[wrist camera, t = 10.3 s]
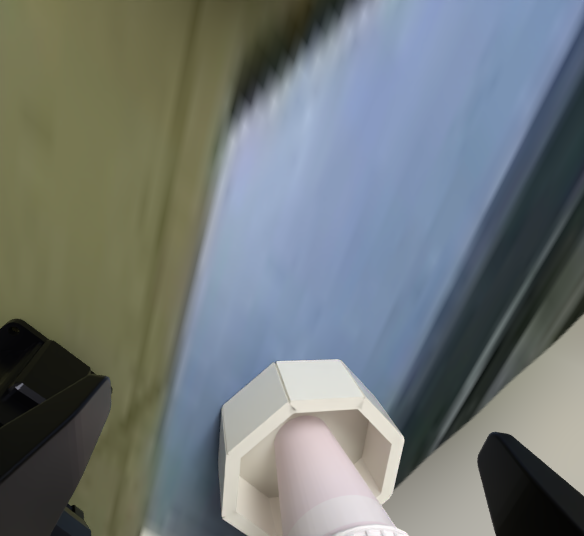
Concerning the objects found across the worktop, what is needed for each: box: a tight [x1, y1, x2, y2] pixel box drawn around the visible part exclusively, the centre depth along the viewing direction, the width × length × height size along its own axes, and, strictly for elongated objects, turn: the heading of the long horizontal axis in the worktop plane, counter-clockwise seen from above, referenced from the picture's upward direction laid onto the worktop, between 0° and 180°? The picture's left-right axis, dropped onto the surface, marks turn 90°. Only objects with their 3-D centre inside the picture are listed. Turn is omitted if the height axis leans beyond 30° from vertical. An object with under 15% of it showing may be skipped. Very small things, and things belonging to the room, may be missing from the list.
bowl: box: [218, 359, 404, 536], centre depth 24 cm, size 11×11×4 cm
